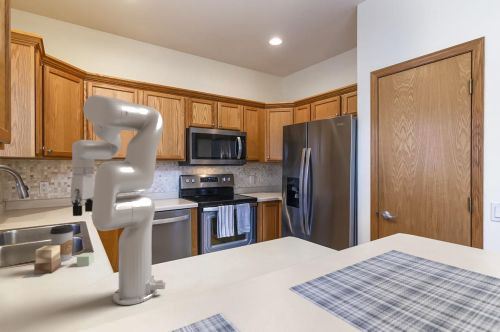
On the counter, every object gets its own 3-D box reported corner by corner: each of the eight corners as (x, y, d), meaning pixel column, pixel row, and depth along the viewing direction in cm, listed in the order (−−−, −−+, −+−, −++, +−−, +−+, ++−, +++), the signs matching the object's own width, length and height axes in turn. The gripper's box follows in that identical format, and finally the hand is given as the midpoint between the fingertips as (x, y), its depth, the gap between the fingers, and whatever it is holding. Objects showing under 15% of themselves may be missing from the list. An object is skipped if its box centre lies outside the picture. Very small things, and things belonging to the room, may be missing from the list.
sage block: (94, 264, 108) (94, 252, 108) (88, 268, 104) (88, 256, 104) (82, 265, 108) (82, 253, 108) (76, 269, 103) (76, 257, 103)
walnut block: (61, 267, 103) (61, 257, 103) (51, 273, 97) (51, 263, 97) (44, 268, 102) (44, 258, 102) (34, 274, 97) (34, 263, 97)
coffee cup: (61, 265, 107) (61, 229, 107) (45, 264, 109) (44, 228, 109) (78, 258, 115) (78, 224, 115) (63, 257, 117) (62, 224, 117)
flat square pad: (71, 266, 106) (71, 264, 106) (54, 278, 95) (54, 275, 95) (41, 267, 105) (41, 266, 105) (21, 279, 94) (21, 277, 94)
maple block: (60, 257, 103) (60, 245, 103) (51, 262, 98) (51, 249, 98) (45, 258, 102) (45, 245, 102) (35, 263, 97) (35, 250, 97)
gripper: (83, 171, 114) (84, 210, 114) (61, 172, 96) (61, 218, 96) (102, 171, 115) (102, 209, 115) (82, 172, 98) (83, 217, 98)
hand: (83, 213), depth 106 cm, fingers open, 9 cm apart
